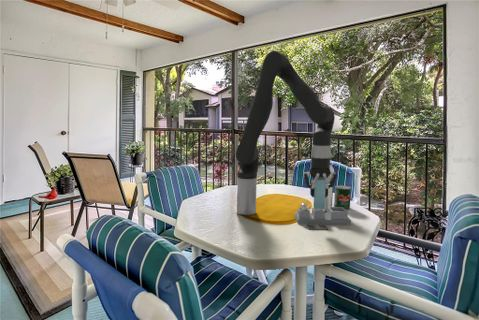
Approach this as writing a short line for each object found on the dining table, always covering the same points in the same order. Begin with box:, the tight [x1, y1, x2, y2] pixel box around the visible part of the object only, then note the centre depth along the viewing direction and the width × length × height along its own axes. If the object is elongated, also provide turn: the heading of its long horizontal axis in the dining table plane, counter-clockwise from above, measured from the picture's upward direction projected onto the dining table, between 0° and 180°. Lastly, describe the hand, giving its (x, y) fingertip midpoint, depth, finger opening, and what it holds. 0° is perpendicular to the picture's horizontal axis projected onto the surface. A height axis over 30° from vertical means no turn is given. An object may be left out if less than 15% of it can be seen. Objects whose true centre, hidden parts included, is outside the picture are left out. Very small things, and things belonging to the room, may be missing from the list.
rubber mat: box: [306, 224, 329, 231], centre depth 126 cm, size 8×5×1 cm, turn 88°
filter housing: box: [294, 206, 352, 226], centre depth 134 cm, size 23×9×6 cm, turn 88°
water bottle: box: [324, 164, 335, 213], centre depth 148 cm, size 7×7×25 cm
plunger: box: [300, 202, 308, 210], centre depth 133 cm, size 3×3×5 cm
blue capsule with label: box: [313, 177, 326, 209], centre depth 123 cm, size 4×4×13 cm
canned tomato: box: [333, 184, 352, 211], centre depth 154 cm, size 8×8×11 cm
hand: (318, 196), depth 125 cm, fingers closed on blue capsule with label, 4 cm apart
